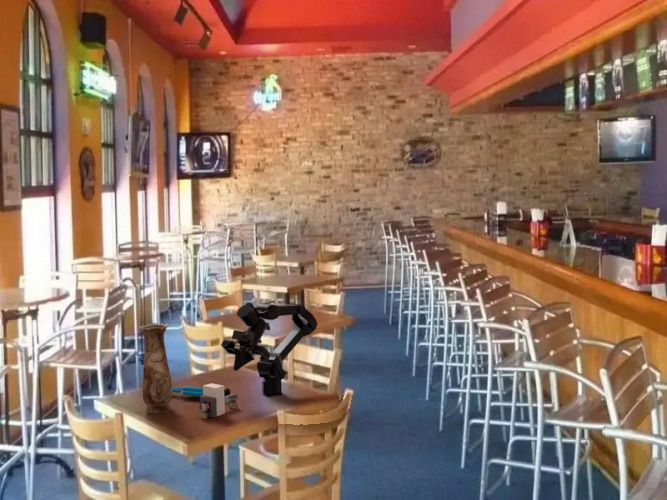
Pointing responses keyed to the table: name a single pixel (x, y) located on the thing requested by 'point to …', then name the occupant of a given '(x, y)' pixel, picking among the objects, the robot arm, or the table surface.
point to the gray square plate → (212, 405)
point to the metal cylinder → (227, 400)
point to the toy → (195, 391)
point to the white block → (215, 396)
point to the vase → (156, 370)
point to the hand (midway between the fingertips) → (234, 370)
